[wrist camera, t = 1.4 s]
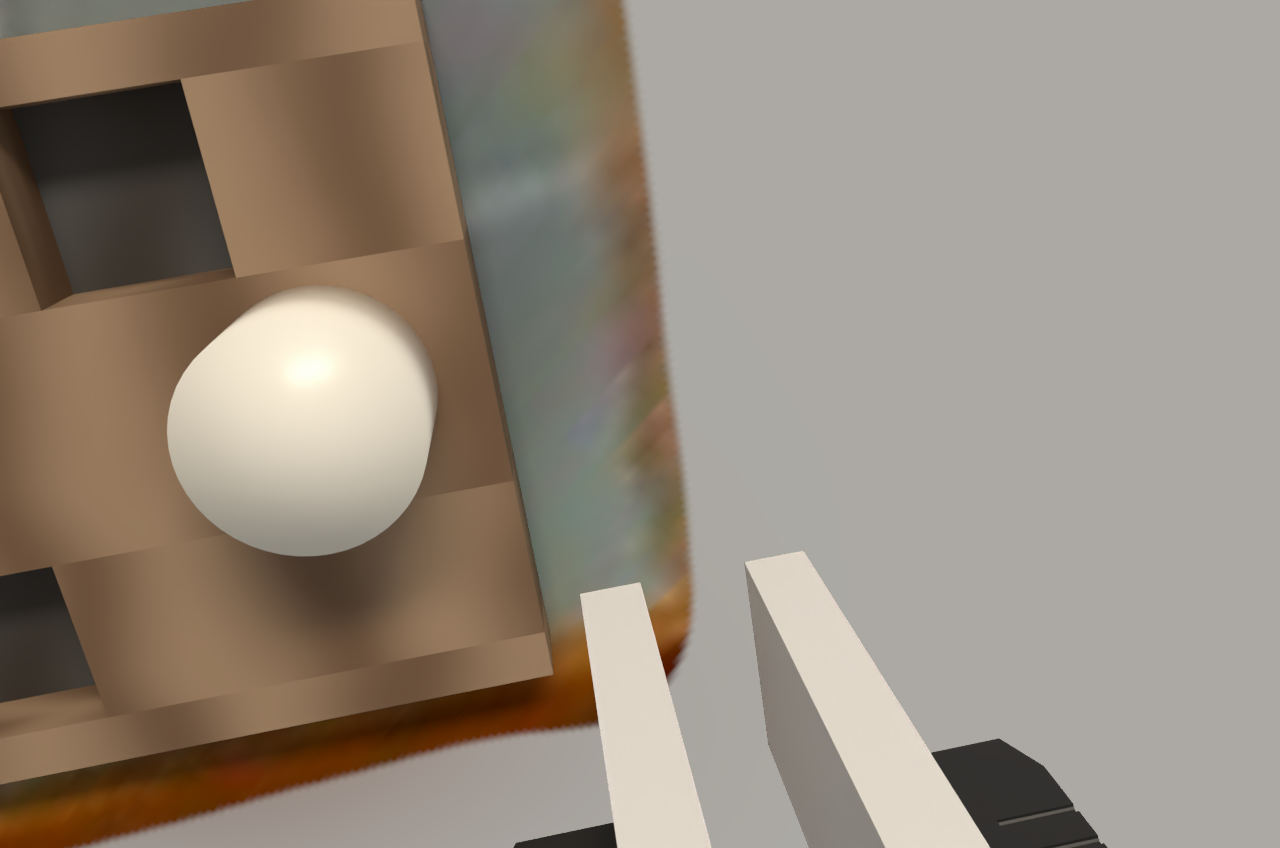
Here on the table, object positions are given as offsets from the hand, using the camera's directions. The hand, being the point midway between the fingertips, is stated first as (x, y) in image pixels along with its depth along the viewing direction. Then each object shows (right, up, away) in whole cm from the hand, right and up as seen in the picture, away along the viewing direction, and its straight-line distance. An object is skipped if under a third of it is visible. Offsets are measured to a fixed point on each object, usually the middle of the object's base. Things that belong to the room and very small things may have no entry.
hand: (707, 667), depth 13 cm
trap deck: (-17, +3, +17) cm, 25 cm away
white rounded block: (-9, +4, +15) cm, 19 cm away
